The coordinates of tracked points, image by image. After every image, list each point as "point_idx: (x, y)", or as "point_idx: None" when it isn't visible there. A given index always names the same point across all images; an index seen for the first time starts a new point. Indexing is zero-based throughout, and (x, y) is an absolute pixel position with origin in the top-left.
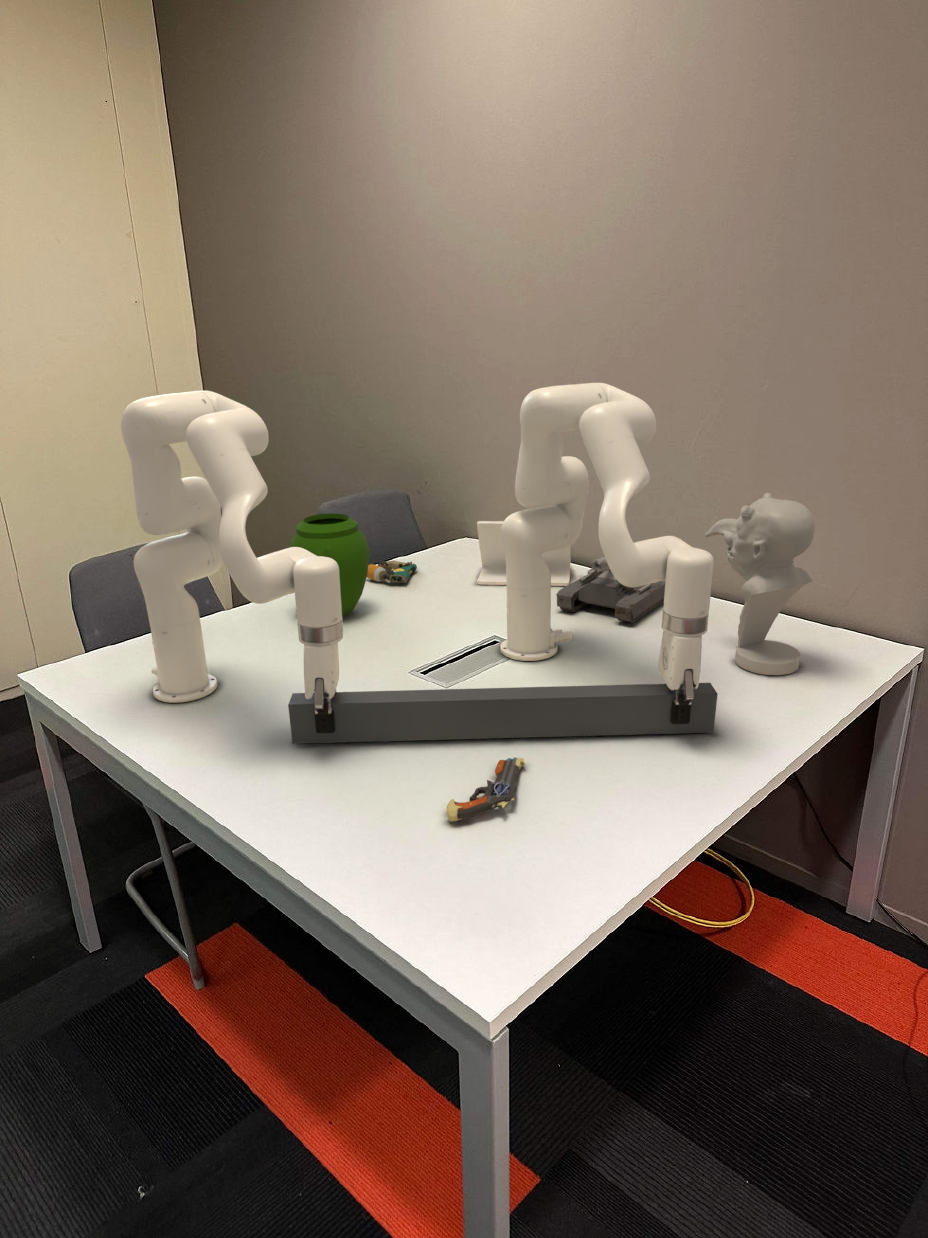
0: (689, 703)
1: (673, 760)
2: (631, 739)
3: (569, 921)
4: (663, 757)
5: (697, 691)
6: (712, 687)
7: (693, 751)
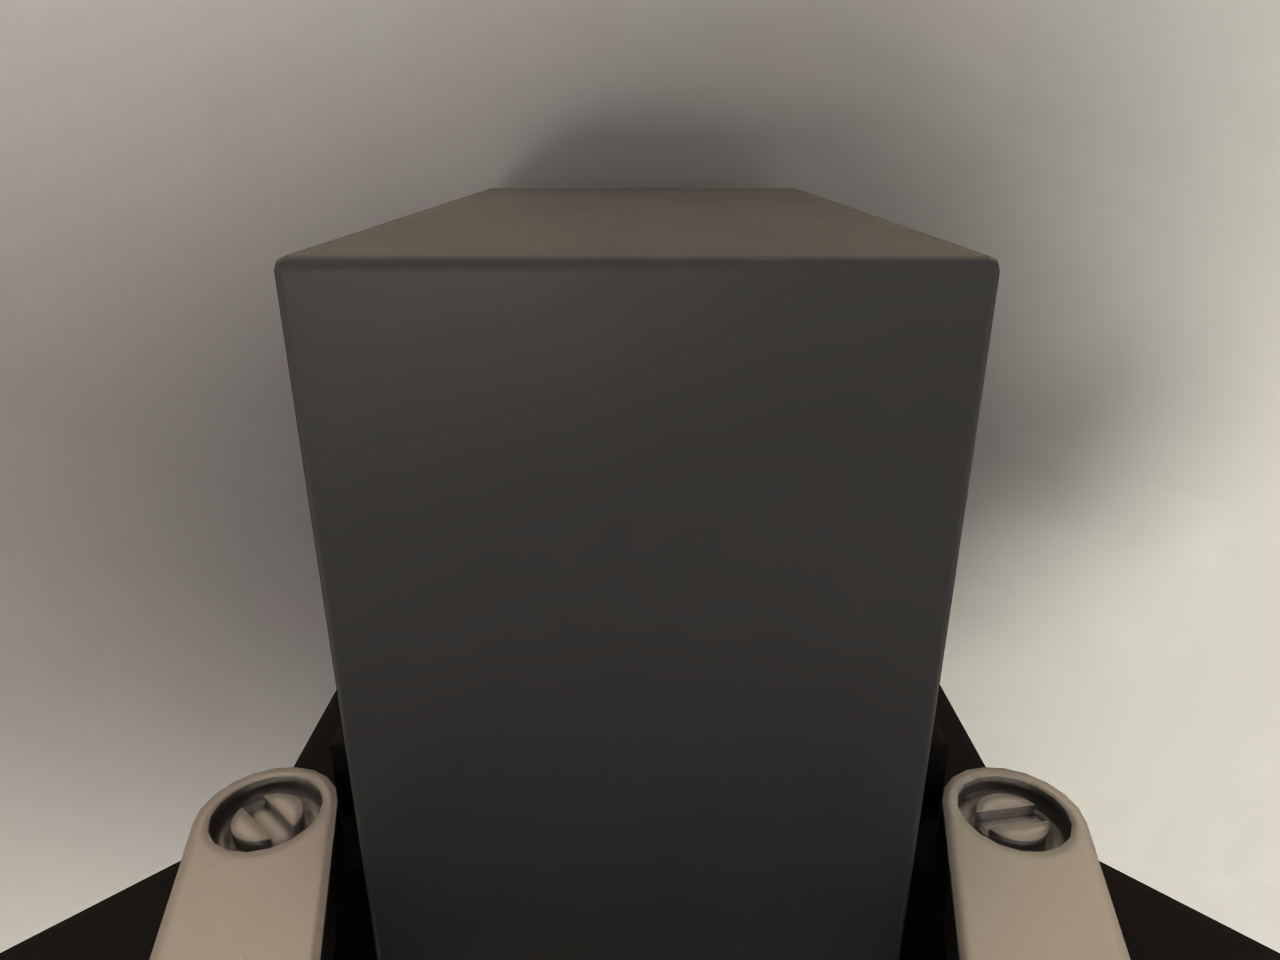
0: (1063, 837)
1: (1214, 712)
2: None
3: None
4: (1138, 774)
5: (808, 713)
6: (615, 299)
7: (1105, 505)
